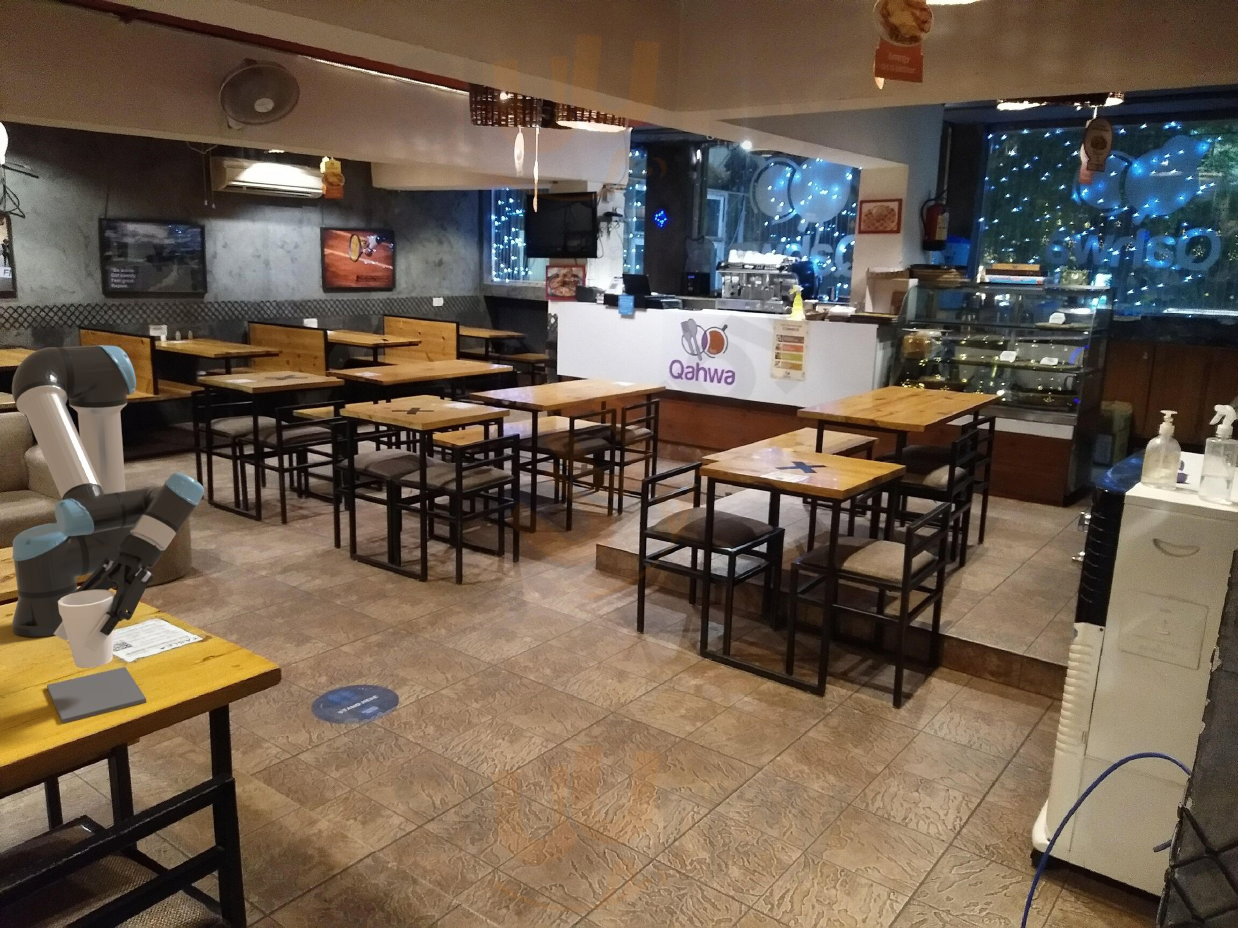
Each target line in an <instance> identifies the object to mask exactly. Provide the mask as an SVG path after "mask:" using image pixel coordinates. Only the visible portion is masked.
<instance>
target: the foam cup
mask: <svg viewBox="0 0 1238 928" xmlns="http://www.w3.org/2000/svg"><path fill="white" fill-rule="evenodd" d="M115 594H116V592H114V591H113V590H110V589H109V590H87V591H81V592H76V593H72V594H69V595H67V596H64V597H62V598H61V599H60V600H59V601H58V607H59V614H60V615H61V617H62V620H63V624H64V627H65V631H66V634H67V638H68V640H67V642H68V644H69V648H70V652H71V655H72V656H71V657H72V659H73V662H74V665H75V667H77V668H80V669H90V668H96V667H100V666H104V665H106V664H109V663H110V662H112V660H113V659H114V658H113V655H114V639H115V638H114V637H115V628H114V629H113V631H112V632H111V634H110V635H108V637H107V638H106V640H105V641H104V642H103V644H102V645H101V647H100V648H99V650H98V651H97V652H95V651H93V650H91V649H89V648H87V647H86V646H84V643H85V642H86V640H87V639H88V638H89V636H90V635H91V633H92V632H93V631H94V629H95V628H96V626H97V625H98V624H99V622H100V621H101V619H102V618H103V616H104V615H105V614H106V612H107V611H110V610H111V607H112V604H113V600H114V597H115ZM106 615H108V614H106ZM108 616H110V615H108Z"/></svg>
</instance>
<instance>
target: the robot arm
mask: <svg viewBox="0 0 1238 928" xmlns="http://www.w3.org/2000/svg"><path fill="white" fill-rule="evenodd" d="M136 378H137V377H136V373H135V369H134V367H133V364H132V362H131V360H130V358H129V356H128V354H127V353H126V352H125V350H123V349H122V348H121V347H119V346H116V345H100V344H96V345H77V346H75V345H74V346H63V347H61V346H59V347H54V346H50V347H44V348H40V349H38V350H35V351H34V352H32V353H30V354H29V355H28V356H26V357H25V359H24V360H22V361H21V363H20V364H19V365H18V367H17V369H16V371H15V372H14V375H13V378H12V385H11V393H12V398H13V401H14V403H15V406H16V408H17V410H18V412H20V413H21V414H23V415H24V416H26V418H27V420H28V423H29V425H30V427H31V430H32V432H33V435H34V437H35V440H36V441H37V444H38V446H39V449H40V451H41V453H42V456H43V458H44V460H45V462H46V465H47V467H48V470H49V472H50V475H51V477H52V479H53V481H54V483H55V487H56V489H57V491H58V492H59V493H58V494H59V495H60V498H61V500H59V501H58V502H57V503H56V505H55V507H54V508H55V509H54V511H55V512H54V517H55V520H56V522H53V523H45V524H40V525H37V526H34V527H30V528H28V529H26V530H23V531H21V532H20V533H18V534H17V535H16V536H15V537H14V539H13V541H12V559H13V563H14V573H15V580H16V581H15V582H16V587H17V596H18V599H17V602H16V607H15V610H14V614H13V618H12V623H11V624H12V631H13V633H14V635H17V636H20V637H26V638H27V637H28V638H40V637H49V636H56V637H58V638H60V639H62V640H64V641H66V642H68V638H67V634H66V631H65V627H64V624H63V620H62V617H61V615H60V614H59V607H58V601H59V600H60V599H61V598H62V597H64V596H67V595H69V594H72V593H76V592H81V591H87V590H109V591H110V590H111V589H112V588H116V587H117V589H116V592H115V597H114V600H113V604H112V607H111V610H110V611H107V612H106V614H108V615H110V616H108V615H106V614H105V615H104V616H103V618H102V619H101V621H100V622H99V624H98V625H97V626H96V628H95V629H94V631H93V632H92V633H91V635H90V636H89V638H88V639H87V640H86V642H85V643H84V646H86V647H87V648H89V649H91V650H93V651H95V652H97V651H98V650H99V648H100V647H101V645H102V644H103V642H104V641H105V640H106V638H107V637H108V635H110V634H111V632H112V631H113V629H114V630H115V628H116V626H117V625H118V624H119V622H122V621H124V620H126V621H130V620H131V619H132V617H133V615H134V613H135V611H136V609H137V607H138V605H139V602H140V601H141V598H142V597H143V594H144V593H145V591H146V589H147V587H148V585H149V584H150V583H151V582H152V580H153V579H154V574H153V573H151V572H150V571H148V570H147V569H152V568H154V567H155V565H156V564H157V563H158V562H159V560H160V558H161V557H162V556H163V552H162V551H165V550H166V549H167V548H168V546H169V545H170V543H172V540H173V539H174V538H175V536H176V535H177V534H178V533H179V531H180V530H181V528H182V527H183V526H184V524H185V522H186V521H187V520H188V519H189V518H190V515H191V514H192V512H193V511H194V510H195V508H196V507H197V506H199V504H200V502H201V500H202V498H203V496H204V494H205V488H204V487H203V485H202V484H201V483H200V482H199V481H197V480H195V478H193V477H191V476H189V475H186V474H184V473H181V472H174V473H172V474H171V475H169V477H168V478H167V480H164V484H163V485H161V486H154V485H153V486H152V485H150V486H146V487H145V486H144V487H142V488H138V489H137V488H136V489H130V490H126V480H125V479H126V478H125V464H124V463H125V462H124V450H123V449H124V446H123V434H122V421H121V420H122V418H121V411H122V410H123V408H125V407H126V406H127V404H128V398H127V397H128V396H131V395H132V394H134V393H135V391H136V387H137V380H136ZM67 401H68V403H69V407H71V408H73V410H75V411H76V412H77V419H78V429H79V430H78V429H77V427H76V425H75V424H74V423H75V422H74V421H73V418H72V416H71V414H70V412H69V410H68V407H67V405H66V404H67ZM78 431H79V432H78ZM88 575H89V576H88ZM82 576H88V578H87V579H86V580H85V581H84V582H83V583H82V584H81V585H80V586H79V587H78V581H77V578H78V577H82Z"/></svg>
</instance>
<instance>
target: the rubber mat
mask: <svg viewBox="0 0 1238 928" xmlns="http://www.w3.org/2000/svg"><path fill="white" fill-rule="evenodd" d="M46 689H47V691H48V693H49V697H50V698H51V701H52V702H53V705H54V707H55V709H56V711H57V715H58V717H59V718H60V720H61V722H62V724H66V723H70V722H75V721H78V720H81V719H86V718H89V717H93V716H98V715H101V714H106V713H110V712H113V711H117V710H121V709H124V708H129V707H134V706H137V705H140V704H144V703H147V698H146V696H145V694H144V693H143V691H142V690H141V688H140V687H139V685H138V683H137V682H136V681H135V679H134V677H133V676H132V674H131V673H130V671H129V670H128V669H127V667H126V666H122V667H118V668H114V669H110V670H106V671H105V670H104V671H102V672H97V673H92V674H87V675H84V676H79V677H75V678H71V679H67V680H62V681H58V682H57V681H56V682H52V683H49V684H46Z"/></svg>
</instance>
